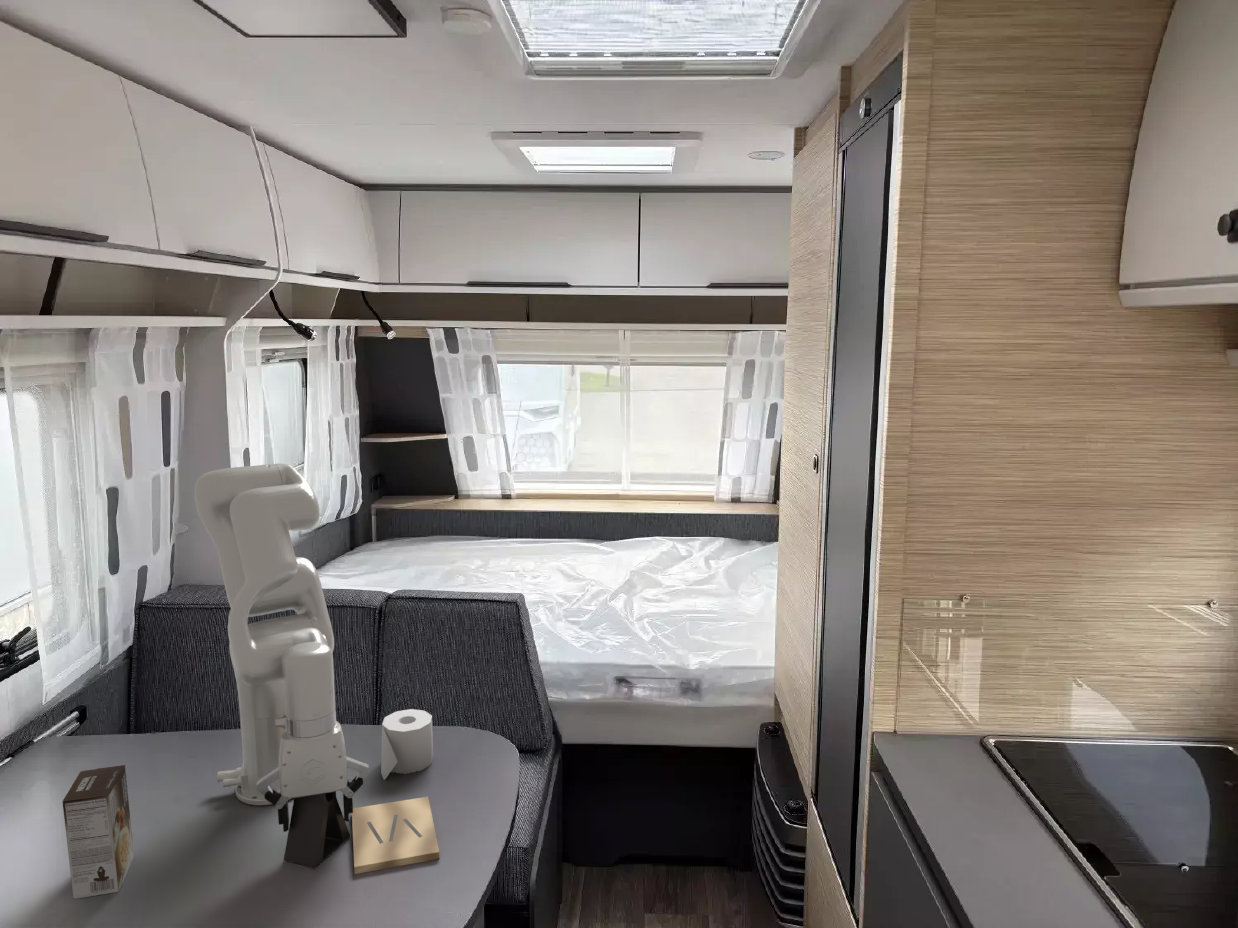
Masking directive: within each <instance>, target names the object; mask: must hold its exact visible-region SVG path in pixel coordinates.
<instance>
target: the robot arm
mask: <svg viewBox="0 0 1238 928" xmlns="http://www.w3.org/2000/svg"><path fill="white" fill-rule="evenodd" d="M193 488H194V490H193V493H194V494H193V496H194V503H195V508H196V511H197V514H198V517H199V519H200V521H201V524H202V525H203V527H204V528H205V531H206V532H207V534H208V536H209V537H210V539H211V541H212V542H213V544H214V547H215V550H216V552H217V555H218V560H219V565H220V570H221V574H222V579H223V584H224V589H225V592H226V593H225V594H226V597H227V602H228V604H229V607H230V610H229V612H228V613H229V614H228V620H227V635H228V640H229V645H228V647H229V655H230V660H231V663H232V667H233V672H234V677H235V681H236V687H237V694H238V696H237V697H238V706H239V709H238V710H239V717H240V718H239V721H240V733H241V737H240V738H241V747H242V748H241V749H242V750H241V752H242V765H241V766H239V767H236V769H231V770H222V771H217V774H216V775H217V776H216V777H217V778H216V779H217V783H218V784H220V783H222V786H223V788H228V787H232V786H233V787H234V786H235V796H236V798H237V800H238V801H240V802H242V803H243V804H248V805H252V806H269V805H270V806H271V805H273V806H274V807H275V809H276V810H277V817H278V819H277V820H278V821H277V822H278V825H282V829H283V831H282V832H284V833H286V832H287V833H288V831H289V826H290V812H289V811H290V810H289V800H291V799H294V798H298V797H305V796H311V795H318V794H323V793H330V792H336V793H337V792H339V791H340V792H341V793H342V801H343V804H342V805H343V817H344V821H345V822H349V820H350V815H349V814H352V813H353V808H354V805H353V804H354V803H353V798H354V796H355V794H356V792H357V791H358V790H359V789H360V788H361V787H362V786H363V784H364V782H365V780H366V778H367V777H368V775H369V773H370V771H371V770H370V765H369V764H368V763H366V762H363V761H360V760H357V759H354V758H352V757H349V756H347V751H346V743H345V737H344V734H343V728H342V726H341V723H340V722H339V721H337V712H336V711H337V709H336V694H335V675H334V672H335V670H334V658H333V657H334V655H333V653H334V649H335V638H334V631H333V626H332V622H331V619H330V618H331V617H330V615H329V611H328V607H327V603H326V599H325V595H324V590H323V587H322V581H321V580H320V575H319V573H318V570H317V568H316V567H315V565H314V563H313V562H311V561H310V559H308V558H306V557H302V556H301V557H299V556H296V553H295V550H294V547H293V542H292V538H291V534H290V533H293V532H294V533H295V532H300V531H307V530H312V529H313V528H315V527H316V526H317V525H318V522H319V519H320V506H319V503H318V498H317V495H316V494H315V492H314V490H313V488H312V486H311V485H310V484H309V482H308V481H307V480H306V479H305V477H303V476H302V475H301V474H300V472H298V471H297V470H296V468H295V467H293V466H292V465H290V464H288V463H287V464H286V463H270V464H258V465H248V466H246V465H245V466H235V467H226V468H225V467H224V468H220V469H215V470H211V471H208V472H206V473H204V474H201V475H200V477H198V478H197V480H196V482H195V484H194V487H193ZM290 610H292V611H294V612H295V613H296V614H292V615H287V616H281V617H275V618H270V619H266V620H261V621H256V622H253V623H248V622H249V621H248V620H249V618H253V617H259V616H265V615H270V614H273V613H274V614H275V613H278V612H285V611H290ZM348 770H352V771H355V772H357V774H356V775H355V777H353V779H352V780H351V781H350V779H349V777H348V773H349V772H348Z"/></svg>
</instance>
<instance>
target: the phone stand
mask: <svg viewBox="0 0 1238 928" xmlns="http://www.w3.org/2000/svg"><path fill="white" fill-rule="evenodd" d="M350 838H351V834H350V831H349V829H348V826H347V823H346V821H344V813H343V811H342V808H341V806H340V804H339V801H338V798H337V791H336V792H330V793H323V794H318V795H311V796H305V797H298V798H293V803H292V809H291V815H290V819H289V829H288V831H287V838H286V843H285V848H284V849H285V850H284V856H283V860H284V861H285V862H289V863H292V864H298V865H301V866H306V867H308V868H314V869H317V868H319V866H320V865H322V864H323V863H324V862H325V861H326V860H328V859H329V858H330V856H332V855H333V853H335V852H336V851H337V850H338V849H339V848H341V847H342V846H343V845H344V844H345V843H346V842H347V841H348V840H349V839H350Z"/></svg>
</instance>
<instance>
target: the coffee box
mask: <svg viewBox="0 0 1238 928" xmlns="http://www.w3.org/2000/svg"><path fill="white" fill-rule="evenodd" d="M127 781H128V780H127V772H126V764H123V765H115V766H108V767H98V768H95V769H87V770H81V771H79V773H78V774H77V777H76V778H75V780H74V781H73V783H72V784H71V787H69V790H68V791H67V793H66V794H65V796H64V798H63V799H62V802H61V803H62V810H63V819H64V826H65V834H66V835H65V837H66V843H67V844H66V845H67V851H68V852H67V855H68V862H69V864H68V865H69V870H70V871H69V872H70V881H71V888H72V896H73V899H75V900H77V899H81V898H88V897H95V896H100V895H101V896H102V895H106V894H113V893H118V892H120V891H121V889H122V886H123V884H124V882H125V879H126V876H127V874H128V872H129V869H130V868H131V865H132V862H133V860H134V858H135V853H134V844H133V843H134V842H133V833H132V832H133V831H132V823H131V822H132V821H131V811H130V802H129V793H128V784H127V783H128V782H127Z"/></svg>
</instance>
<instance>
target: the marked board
mask: <svg viewBox="0 0 1238 928" xmlns="http://www.w3.org/2000/svg"><path fill="white" fill-rule="evenodd" d="M351 817H352V818H351V820H352V822H351V824H352V825H351V826H352V842H353V845H352V846H353V866H354V867H353V868H354V870H353V871H354V875H358V874H363V873H367V872H372V871H379V870H384V869H389V868H395V867H402V866H407V865H411V864H412V865H413V864H418V863H423V862H429V861H434V860H439V859H440V858H441V857H440V849H439V843H438V840H437V833H436V829H435V824H434V820H433V819H434V818H433V814H432V807H431V805H430V800H429V796H424V797H422V796H421V797H417V798H410V799H405V800H396V801H392V802H385V803H378V804H373V805H372V804H371V805H366V806H365V805H364V806H360V807H353V813H351Z"/></svg>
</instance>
